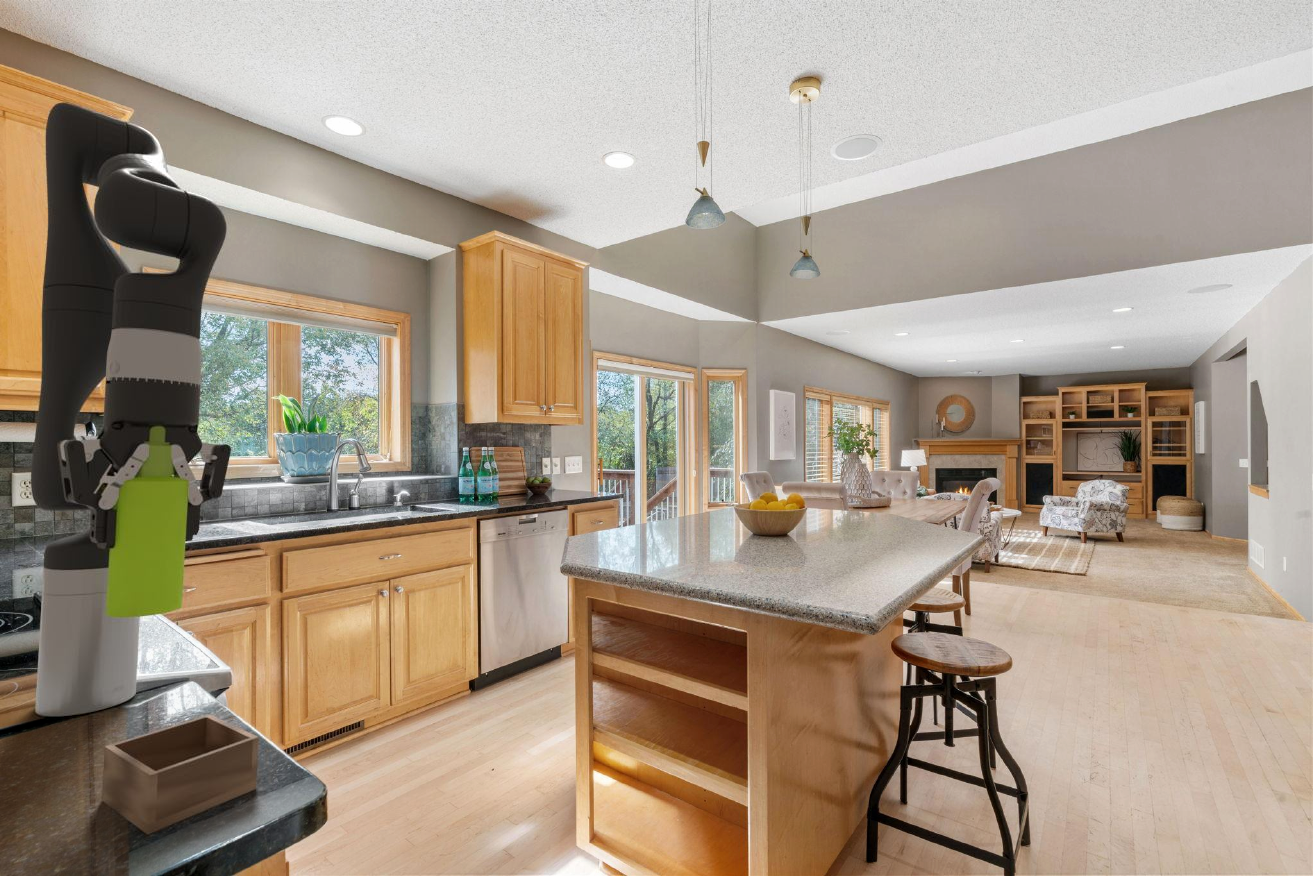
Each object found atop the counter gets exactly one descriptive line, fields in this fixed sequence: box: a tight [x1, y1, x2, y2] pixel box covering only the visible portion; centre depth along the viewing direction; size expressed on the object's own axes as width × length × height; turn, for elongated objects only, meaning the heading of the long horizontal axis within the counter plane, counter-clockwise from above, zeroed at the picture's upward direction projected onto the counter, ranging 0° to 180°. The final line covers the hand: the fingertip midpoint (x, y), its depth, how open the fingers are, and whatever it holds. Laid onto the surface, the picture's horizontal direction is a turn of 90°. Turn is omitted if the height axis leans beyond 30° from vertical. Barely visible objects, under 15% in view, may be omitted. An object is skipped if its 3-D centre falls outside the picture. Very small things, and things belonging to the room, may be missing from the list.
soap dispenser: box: [106, 426, 189, 618], centre depth 62 cm, size 6×7×20 cm
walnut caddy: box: [101, 714, 260, 835], centre depth 57 cm, size 9×8×5 cm
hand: (146, 543), depth 62 cm, fingers closed on soap dispenser, 6 cm apart
